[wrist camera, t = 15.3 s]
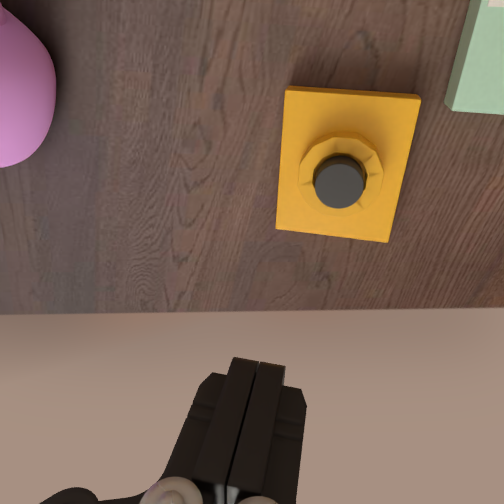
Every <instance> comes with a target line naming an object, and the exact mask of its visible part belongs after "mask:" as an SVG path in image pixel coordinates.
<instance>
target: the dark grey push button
mask: <svg viewBox="0 0 504 504" xmlns="http://www.w3.org/2000/svg"><path fill="white" fill-rule="evenodd" d="M363 189H364V180H363V171H362V169H361V166H360V165H359V164H358V163H357V162H356V161H355V160H354V159H352V158H350V157H347V156H334V157H331V158H329V159H327V160H326V161H324V162H323V163H322V164H321V166H320V167H319V169H318V172H317V176H316V181H315V192H316V195H317V197H318V198H319V200H320V201H321V202H322V203H323V204H325V205H326V206H328V207H331V208H336V209H341V208H346V207H349V206H351V205H353V204H354V203H356V202H357V201H358V200H359V198H360V197H361V195H362V193H363Z"/></svg>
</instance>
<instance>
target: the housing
mask: <svg viewBox="0 0 504 504" xmlns="http://www.w3.org/2000/svg"><path fill="white" fill-rule="evenodd" d="M420 104H421V98H420V97H419V96H418V95H417V94H406V93H392V92H377V91H362V90H347V89H332V88H318V87H303V86H288V88H287V89H286V90H285V99H284V114H283V128H282V143H281V157H280V172H279V186H278V200H277V215H276V229H282V230H290V231H298V232H306V233H314V234H322V235H330V236H338V237H346V238H354V239H362V240H370V241H378V242H386V243H388V241H389V237H390V232H391V228H392V224H393V219H394V215H395V211H396V207H397V202H398V198H399V194H400V190H401V185H402V181H403V177H404V173H405V168H406V164H407V160H408V155H409V151H410V147H411V143H412V138H413V134H414V130H415V126H416V121H417V117H418V113H419V108H420ZM334 156H347V157H350V158H352V159H354V160H355V161H356V162H357V163H358V164H359V165H360V166H361V169H362V171H363V180H364V189H363V193H362V195H361V197H360V198H359V200H358V201H357V202H356V203H354V204H353V205H351V206H349V207H346V208H341V209H336V208H331V207H328V206H326V205H325V204H323V203H322V202H321V201H320V200H319V198H318V197H317V195H316V192H315V181H316V176H317V172H318V169H319V167H320V166H321V164H322V163H323V162H324V161H326V160H327V159H329V158H331V157H334Z"/></svg>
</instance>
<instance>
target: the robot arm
mask: <svg viewBox="0 0 504 504" xmlns="http://www.w3.org/2000/svg"><path fill="white" fill-rule="evenodd" d="M284 377H285V366H282V365H277V364H271V363H266V362H260V364H259V361H253V360H248V359H243V358H237V357H234V358H233V359H232V362H231V365H230V367H229V370H228V373H227V375H224V374H218V373H211V374H210V376H208V377H207V378H206V379H205V380H204V381H203V382H202V383H201V384H200V386H199V388H198V391H197V393H196V396H195V398H194V400H193V404H192V405H191V408H190V411H189V413H188V416H187V418H186V420H185V422H184V425H183V427H182V430H181V432H180V435H179V437H178V439H177V442H176V444H175V447H174V449H173V452H172V455H171V456H170V459H169V461H168V464H167V466H166V469H165V471H164V473H163V474H162V476H161V477H160V479H159V480H158V481H157V482H156V483H155V484H154V485H152V486H151V487H150V488H149V489H148V490H146V491H145V492H143V493H141V494H139V495H136V496H133V497H128V498H120V499H113V500H104V501H98V499H97V497H96V496H95V495H94V494H93V493H92V492H91V491H89V490H88V489H84V488H79V487H74V488H68V489H65V490H62V491H60V492H58V493H56V494H54V495H53V496H51V497H49V498H48V499H46V500H44V501H43V502H41V503H40V504H296V495H297V486H298V477H299V468H300V460H301V451H302V442H303V433H304V425H305V416H306V408H307V405H306V402H305V399H304V396H303V394H302V390H301V389H298V388H293V387H288V386H284Z"/></svg>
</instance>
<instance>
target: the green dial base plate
mask: <svg viewBox="0 0 504 504" xmlns="http://www.w3.org/2000/svg"><path fill="white" fill-rule="evenodd" d="M444 103H445V104H446V105H447V106H448V107H449V108H450V109H451V110H452V111H463V112H477V113H490V114H504V0H470V3H469V7H468V11H467V15H466V19H465V23H464V26H463V30H462V34H461V38H460V42H459V46H458V49H457V53H456V57H455V61H454V65H453V68H452V72H451V76H450V80H449V84H448V88H447V91H446V95H445V99H444Z"/></svg>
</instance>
